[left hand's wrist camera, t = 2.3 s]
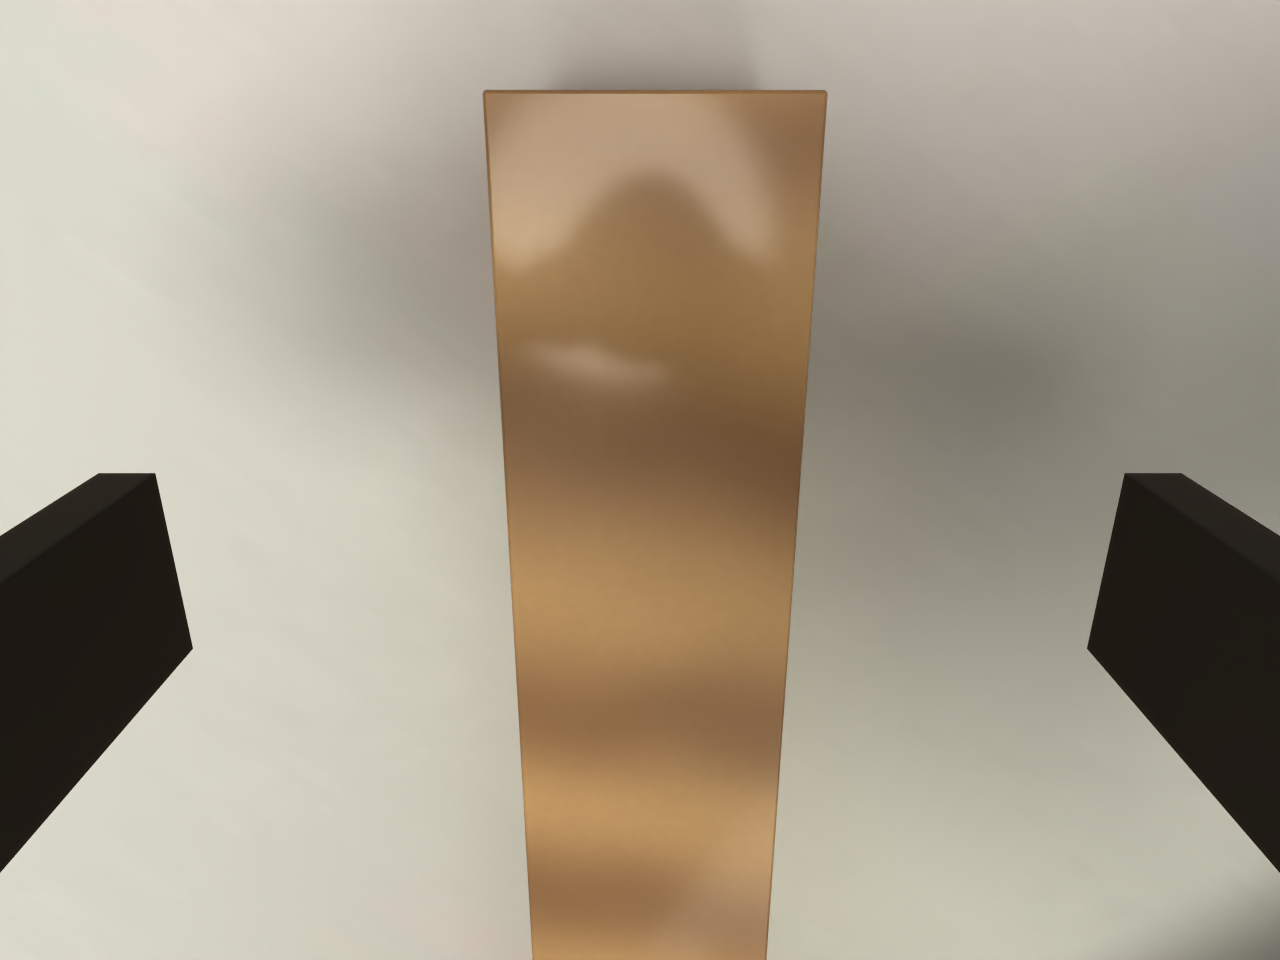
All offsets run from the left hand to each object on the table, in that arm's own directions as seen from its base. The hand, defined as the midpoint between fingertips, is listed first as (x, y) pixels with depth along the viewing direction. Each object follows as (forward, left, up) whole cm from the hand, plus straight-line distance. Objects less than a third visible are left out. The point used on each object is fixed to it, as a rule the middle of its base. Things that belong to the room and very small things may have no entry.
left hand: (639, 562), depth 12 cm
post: (-3, +29, -13) cm, 32 cm away
